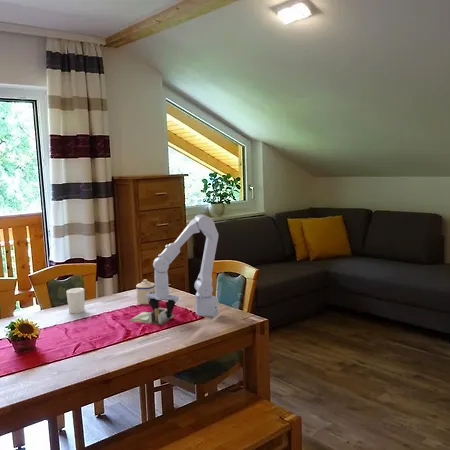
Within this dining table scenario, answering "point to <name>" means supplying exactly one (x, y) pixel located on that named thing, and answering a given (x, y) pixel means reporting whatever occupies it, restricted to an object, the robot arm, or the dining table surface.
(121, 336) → the dining table surface
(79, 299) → the white cup
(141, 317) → the board
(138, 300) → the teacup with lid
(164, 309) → the c link
